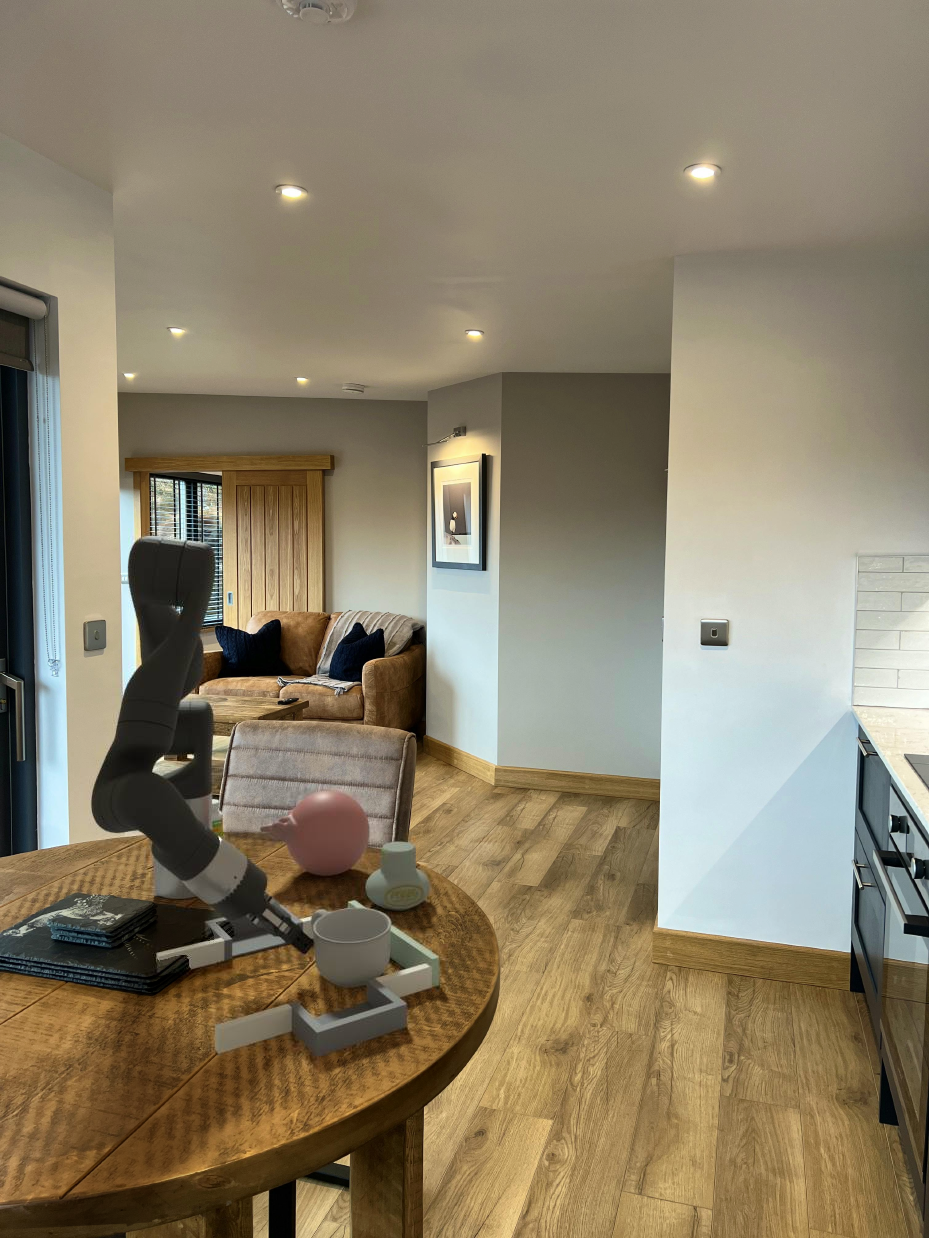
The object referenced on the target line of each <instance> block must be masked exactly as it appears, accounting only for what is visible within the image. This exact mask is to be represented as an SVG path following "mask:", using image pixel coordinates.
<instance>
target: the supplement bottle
mask: <svg viewBox="0 0 929 1238" xmlns="http://www.w3.org/2000/svg"><path fill="white" fill-rule="evenodd" d="M219 809H220V800H219V799H214V798H212V831H213V832H215V833H216V834H217V835H218V836H219V837H221V838H222V839H224V815H223V812H222V811H221V810H219Z"/></svg>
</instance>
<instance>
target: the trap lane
mask: <svg viewBox="0 0 929 1238" xmlns="http://www.w3.org/2000/svg"><path fill="white" fill-rule="evenodd" d="M280 907H281V908H283V909H284V910H285V911H286V912H287V913H289V914H290V915H291V919H292V922H294V923H296V924H297V925H299V926H300V928H301V929H302V930H301V931H303V932H304V933H305V934H306V935H307V936H309V937H310V938H311V939H312V940H314V933H313V930H312V927H311V918H312V916H308V917H303V918H299V917H297V916H296V915H295V914H294V913H292V912H291V911H290V910H288V908H286V907H285V906H284V905H283V904H280ZM347 908H366V907H365V906H364V905H362V904H361V903H360V902H358V901H357V900H350V901H347ZM344 909H346V908H344ZM330 912H331V911H328V913H330ZM223 921H226V922H227V921H228V922H230V923H231V924H232V925H231V926H233V927H232V928H234V934H235V936H234V937H233V938H231V937H230V936H229V935H228V934H227V933H226V932H225V931H224V930H223V929H222V928H221V927H220V926H219V925H218V924H216V923H217V922H218V923H219V922H223ZM262 922H263V921H262ZM205 923H206V924H207V925H208V926H209V927H210V928H211V929H212V931H213V934H214V940H210V941H202V942H197V943H193V944H190V945H186V946H181V947H177V948H173V949H168V950H163V951H160V952H156V960H157V959H158V960H159V961H160V960H164V959H168V958H171V957H174V956H179V955H187V956H188V957H187V958H188V959H189V967H190V968H191V969H190V970H193V969H197V968H201V967H205V966H210V965H214V964H217V962H218V963H221V961H222V962H226V961H229V959H230V960H233V958H234V959H235V958H237V957H241V956H245V955H249V954H254V953H257V952H261V951H266V950H270V949H273V948H278V947H281V946H282V947H283V946H286V945H288V944H287V943H285V942H284V941H283V940H282V938H281V937H279V936H278V937H277V936H276V937H274V936H273V935H271V934H270V933H269V932H268V931H266V930H265V929H264V928H259V927H258V926H257V925H256V924H254V923H253V922H252V921H251V920H250V919H249V918H248V917H247V916H244V917H243V918H241V919H239V920H235V921H230V920H227V919H225V918H224V917H223V916H222V917H220V918H218V917H217V918H213V919H210V920H205V921H204V924H205ZM390 930H391V944H390V958H391V959H392V960H394V961H395V962H396V963H397V964H399V965H400V966H401V967H403V968H404V969H402V970H398V971H395V972H391V973H388V974H385V975H382V976H381V975H380V976H378V977H377V978H374V979H371V980H367V985H366V1001H364V1002H360V1003H358V1004H356V1005H351V1006H348V1007H345V1008H342V1009H339V1010H335V1011H332V1012H327V1013H326V1014H322V1015H319V1016H316V1017H314V1016H313V1015H312V1014H310V1012H308V1010H307V1009H305V1008H304V1007H303V1006H302V1004H300V1003H299V1002H298V1001H297V1000H296V1001H292V1002H288V1003H286V1004H282V1005H278V1006H276V1007H272V1008H269V1009H264V1010H262V1011H258V1012H254V1013H252V1014H249V1015H245V1016H241V1017H238V1018H237V1017H236V1018H234V1019H231V1020H228V1021H224V1022H221V1023H217V1024H215V1025H214V1050H215V1051H216V1053H217V1054H218V1055H219V1054H223V1053H226V1052H230V1051H233V1050H236V1049H240V1048H242V1047H246V1046H249V1045H252V1044H256V1043H258V1042H261V1041H266V1040H268V1039H271V1038H274V1037H277V1036H281V1035H284V1034H287V1033H291V1032H292V1033H293V1034H294V1036H295V1037H297V1039H299V1040H300V1041H301V1042H302V1044H303V1045H304V1046H306V1048H307V1049H308V1050H309V1051H310V1052H311V1053H312V1054H313V1055H314V1056H315V1057H316V1058H319V1057H322V1056H325V1055H328V1054H330V1053H335V1052H337V1051H340V1050H343V1049H345V1048H349V1047H353V1046H354V1045H358V1044H361V1043H364V1042H366V1041H369V1040H373V1039H375V1038H378V1037H381V1036H384V1035H387V1034H390V1033H393V1032H396V1031H400V1030H403V1029H406V1028H408V1026H407V1025H408V1003H407V1002H406V1001H404V1000H403V999H401V998H403V997H405V996H409V995H413V994H415V993H419V992H421V991H424V990H428V989H431V988H434V987H439V986H440V956H439V955H437V954H436V953H434V952H433V951H432V950H430V949H428V948H426V946H424V945H422V944H421V943H420V942H418V941H416V940H414V939H413V938H412V937H410V936H409V935H407V934H405V933H404V932H403V931H401V930H400V929H398V928H397V927H395V926H394V925H392V924H391V929H390Z"/></svg>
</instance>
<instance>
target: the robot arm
mask: <svg viewBox="0 0 929 1238" xmlns="http://www.w3.org/2000/svg"><path fill="white" fill-rule="evenodd" d="M216 567H217V566H216V555H215V552H214V549H213V547H212V546H211V545H210V544H208V543H206V542H201V541H197V540H195V541H194V540H187V539H180V538H173V537H172V538H171V537H165V536H159V535H147V536H142V537H139V538H138V539H137V540H135V542H134V543H133V544H132V546H131V548H130V551H129V555H128V561H127V579H128V580H127V581H128V587H129V591H130V592H129V593H130V596H131V601H132V605H133V608H134V613H135V617H136V621H137V627H138V634H139V651H140V653H139V654H140V661H141V664H140V665H139V666H138V667H137V669H136V670H135V671H134V672H133V674H132V676H131V677H130V678H129V680H128V682H127V684H126V687H125V689H124V692H123V695H122V699H121V703H120V704H121V705H120V710H119V713H118V718H117V722H116V723H117V724H116V728H115V735H114V738H113V741H112V743H111V744H110V747H109V749H108V751H107V752H106V755H105V758H104V760H103V763H101V767H100V769H99V771H98V773H97V776H96V780H95V782H94V784H93V787H92V788H93V789H92V792H91V800H90V804H91V805H90V807H91V808H90V809H91V813H92V817H93V819H94V821H95V823H96V824H97V825H98V827H100V829H102V830H103V831H105V832H108V833H111V834H112V833H113V834H122V833H124V834H125V833H130V832H137V831H138V832H139V833H141V834H143V835H144V836H146V837H147V839H149V840H150V841H151V845H150V850H151V854H152V856H153V896H154V897H163V898H166V899H171V900H172V899H173V900H182V899H192V898H196V897H197V898H199V899H200V900H201V901H202V902H203V903H205V904H206V905H208V906H209V907H210V908H211V909H213V911H215V912H216V913H218V914H219V915H220V916H221V917H222V918H223V917H224V918H225V919H227V920H230V921H235V920H239V919H241V918H243V917H244V916H247V917H248V918H249V919H250V920H251V921H252V922H253V923H254V924H256V925H257V926H258V927H259V928H264V929H265V930H266V931H268V932H269V933H270V934H271V935H273V936H274V937H276V936H277V937H278V936H279V937H281V938H282V940H283V941H284V942H285V943H287V944H286V945H291V946H292V947H294V948H295V949H296V950H297V951H299V952H300V953H301V954H303V955H306V954H308V953H309V951H310V950H311V949H312V947H314V939H311V938H310V937H309V936H307V935H306V934H305V933H304V932H303V931H301V930H302V929H301V928H300V926H299V925H297V924H296V923H294V922H292V919H291V915H290V914H289V913H287V912H286V911H285V910H284V909H283V908H281V907H280V905H281V903H280V902H278V900H276V899H275V898H274V897H272V896H271V895H270V894H268V893H267V892H266V891H267V887H268V875H267V874H266V873H265V871H263V870H262V869H261V868H260V867H259V866H258V865H256V864H255V863H254V862H253V861H252V860H251V859H250V858H248V857H247V856H246V855H245V854H244V853H242V852H241V851H240V850H239V849H238V848H237V847H235V846H234V845H233V844H232V843H230V842H229V841H227V840H226V839H224V838H223V839H222V838H221V837H219V836H218V835H217V834H216V833H215V832H213V831H212V799H213V771H212V770H213V768H212V767H213V762H212V761H213V747H214V746H213V745H214V728H215V727H214V725H215V722H214V720H215V719H214V711H213V707H212V706H211V704H210V702H208V701H205V700H184V699H185V698H186V697H187V696H189V695H190V694H192V692H193V691H194V690H195V689H196V687H198V685H199V683H200V682H201V680H202V678H203V675H204V671H205V659H204V656H205V654H204V642H203V640H202V638H201V636H200V635H201V633H202V628H203V625H204V622H205V618H206V615H207V611H208V608H209V604H210V601H211V597H212V594H213V589H214V583H215V578H216ZM175 607H179V608H181V611H180V612H179V611H178V610H177V609H176V608H175ZM183 700H184V701H183ZM188 755H192V756H193V757H192V759H191V761H189V762H188V763H187V764H185V765H183V766H182V767H180V768H178V769H175V770H173V771H170V772H167V773H164V774H163V775H161V774H159V773H157V772H154V771H153V770H154V768H155V765H156V764H157V762H158V761H159V760H160V759H161V758H163V757H164V756H188ZM262 921H263V922H262Z"/></svg>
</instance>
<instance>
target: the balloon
mask: <svg viewBox="0 0 929 1238" xmlns="http://www.w3.org/2000/svg"><path fill="white" fill-rule="evenodd" d="M259 830H260V832H261V833H268V835H269V836H270V837H271V839H272V840H274V841H278V840H281V841H283V842H284V843H285V845H286V847H287V850H288V852H289V855H290V856H291V858H292V859H293V861H294V862H295V863H296V865H298V866H299V867H300V868H301V869H303V870H305V871H306V872H308V873H310V874H312V875H316V876H322V877H328V876H329V877H330V876H337V875H339V874H343V873H345V872H347V871H348V870H350V869H351V868H353V867H354V866H355V865H356V864H357V863H358V862H359V861H360V860H361V859H362V857H363V856H364V854H365V852H366V850H367V848H368V845H369V841H370V833H371V832H370V824H369V819H368V816H367V813H366V812H365V810H364V808H363V807H362V805H361V804H360V803H359V802H358V801H357V800H356V799H354V798H353V797H352V796H350V795H348V794H346V793H344V792H342V791H337V790H331V789H330V790H329V789H328V790H320V791H317V792H313V793H311V794H309V795H307V796H305V797H304V798H303V799H302V800H300V801H299V802H298V803H297V804H296V805H295V806H294V807H293V808H292V809H291V810H289V812H288V813H287V814H286V815H285V816H282V817H280V819H278V820H276V821H273V822H272V823H267V824H266V825H262V826H260V828H259Z"/></svg>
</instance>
